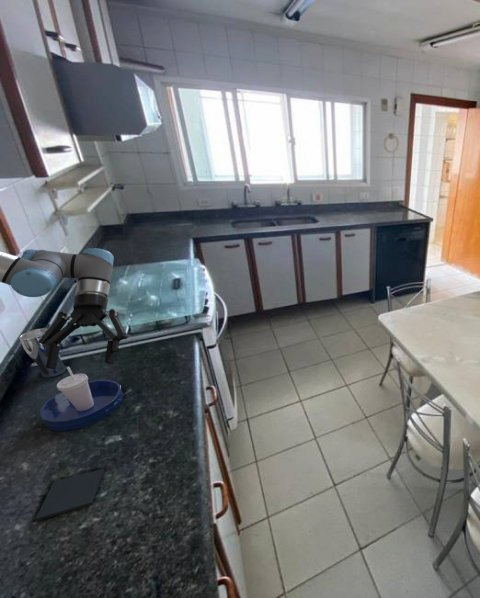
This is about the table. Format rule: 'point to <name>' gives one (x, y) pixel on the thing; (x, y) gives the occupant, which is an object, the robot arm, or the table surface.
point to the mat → (70, 494)
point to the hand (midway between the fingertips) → (80, 365)
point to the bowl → (67, 417)
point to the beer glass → (40, 353)
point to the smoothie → (77, 390)
